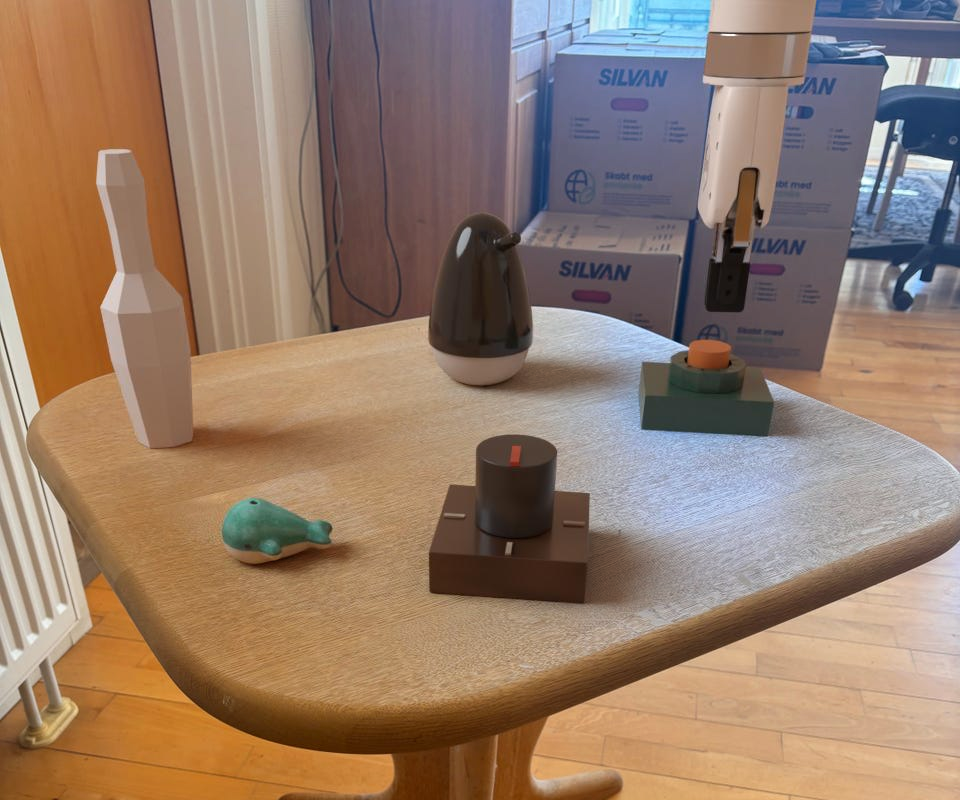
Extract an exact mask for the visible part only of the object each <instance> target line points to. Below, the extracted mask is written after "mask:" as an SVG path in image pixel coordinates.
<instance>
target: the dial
mask: <svg viewBox="0 0 960 800" xmlns="http://www.w3.org/2000/svg"><path fill="white" fill-rule="evenodd" d="M557 465H558V450H557V447H556V446H555V445H554V444H553V443H552V442H550V441H549V440H546V439H544V438H541V437H538V436H535V435H528V434H502V435H501V434H500V435H495V436H491V437H488V438H486V439H483V440H482V441H481V442H479V443H478V444H477V445H476V448H475V480H474V481H475V482H474V483H475V484H474V486H475V521H476V523H477V525H478V526H479V527H480V528H481V529H482V530H484V531H485V532H487V533H490V534H492V535H496V536H500V537H506V538H526V537H532V536H536V535H539V534H541V533H544V532H545V531H547V530H548V529H549V528H550V527H551V525H552V523H553V512H554V497H555V491H556V483H557V482H556V480H557V467H558V466H557Z"/></svg>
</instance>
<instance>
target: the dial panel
mask: <svg viewBox="0 0 960 800" xmlns="http://www.w3.org/2000/svg"><path fill="white" fill-rule="evenodd" d="M590 499H591V493H590V492H583V491H582V492H579V491H564V490H563V491H561V490H555V497H554V512H553V523H552V525H551V527H550V528H549V529H548V530H547V531H545V532H544V533H541V534H539V535H536V536H532V537H526V538H506V537H500V536H496V535H492V534H490V533H487V532H485V531H484V530H482V529H481V528H480V527H479V526H478V525H477V523H476V521H475V485H466V484H449V486H448V488H447V491H446V495H445V499H444V501H443V504H442V507H441V511H440V514H439V518H438V521H437V525H436V528H435V531H434V534H433V537H432V541H431V543H430V547H429V551H428V590H429V593H436V594H447V595H448V594H449V595H461V596H462V595H464V596H478V597H491V598H506V599H518V600H519V599H520V600H532V601H533V600H534V601H547V602H560V603H561V602H563V603H578V604H584V603H585V598H586V597H585V596H586V588H587V587H586V586H587V575H588V566H589V533H590V506H591V505H590V504H591V503H590V501H591V500H590Z"/></svg>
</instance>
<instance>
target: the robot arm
mask: <svg viewBox="0 0 960 800" xmlns="http://www.w3.org/2000/svg"><path fill="white" fill-rule="evenodd" d="M816 5H817V0H711V1H710V9H709V19H708V29H707V31H708V32H707V37H706V46H705V55H704V56H705V57H704V64H703V65H704V66H703V75H702V84H705V85H710V86H714V90H713V95H712V100H711V105H710V112H709V116H708V117H709V118H708V125H707V131H706V140H705V147H704V155H703V161H702V170H701V178H700V184H699V192H698V196H697V197H698V198H697V210H698V214H699V215H700V218H701V220H702V222H703V224H704V225H705V226H706V227H707V228H709V229H713V237H712V248H711V258H709V259H708V269H707V275H706V285H705V293H704V300H703V301H704V307H705V310H706V311H707V312H708V313H709V312H710V313H743V311H744V310H745V307H746V306H745V304H746V299H747V292H748V290H747V289H748V285H749V284H748V283H749V277H750V268H751V261H750V260H751V254H752V248H753V241H754V235H755V231H756V228H757V229H758V230H760V229H762V228H764V227H766V225H768V223H769V221H770V217H771V212H772V208H773V203H774V198H775V190H776V184H777V178H778V171H779V164H780V159H781V158H780V157H781V150H782V143H783V135H784V128H785V127H784V126H785V120H786V112H787V110H786V109H787V104H788V103H787V102H788V94H789V87H793V86H800V85H801V86H802V85H805V84H804V83H805V78H806V71H807V64H808V59H809V53H810V52H809V51H810V45H811V40H812V39H811V38H812V31H813V25H814V19H815V14H816V13H815V12H816Z"/></svg>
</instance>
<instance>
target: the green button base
mask: <svg viewBox="0 0 960 800" xmlns="http://www.w3.org/2000/svg"><path fill="white" fill-rule="evenodd" d="M688 353H689V349H688V350H687V349H686V350H681V351H678V352H676V353H674V354H672V355H671V356H670V358H669V362H656V361H655V362H653V361H641V367H640V376H639V385H638V393H637V395H638V406H639V420H640V430H641V431H656V432H657V431H658V432H659V431H660V432H674V433H693V434H712V435H729V436H730V435H731V436H749V437H766V438H767V437H769V432H770V426H771V422H772V416H773V411H774V406H775V401H774V398H773V395H772V393H771V391H770V388H769V385H768V383H767V381H766V378H765V375H764V373H763V370H762V368H761V367H756V366H754V367H753V366H747V365H746V363H745V359H742V358H740V357H738V356H737V355H734V354H732V353H730V358H729V364H728V368H723V369H702V368H698V367H694V366H691V365H689V364H687V360H688Z"/></svg>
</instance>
